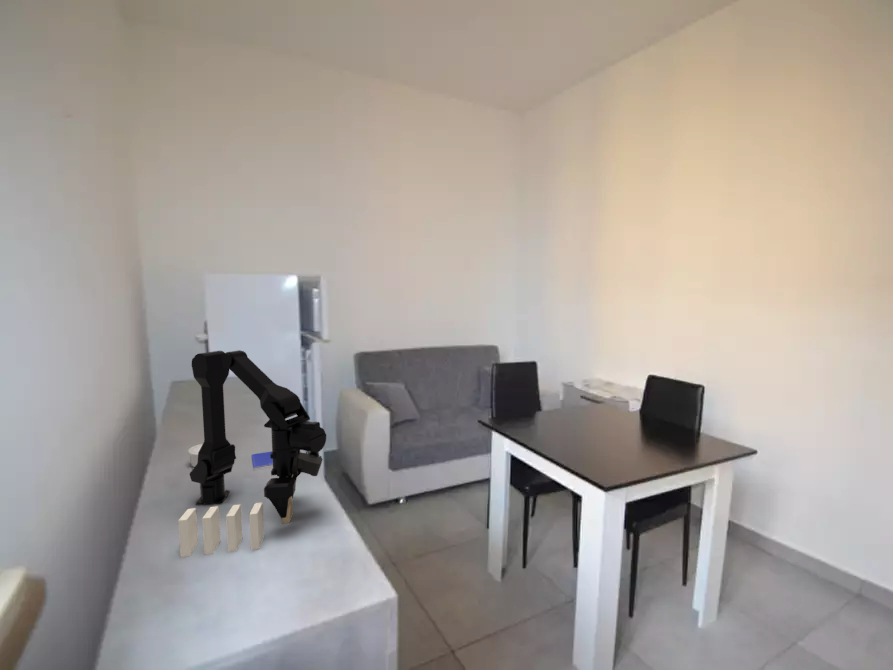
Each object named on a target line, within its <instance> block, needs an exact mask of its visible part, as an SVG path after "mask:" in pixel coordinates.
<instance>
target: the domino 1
mask: <svg viewBox="0 0 893 670" xmlns="http://www.w3.org/2000/svg"><path fill="white" fill-rule="evenodd" d="M197 520H198V519H197V508H194V507H193V508H187V509H186V511H185V512H184V513H183V514H182V516H180V518H179V519H178V520H177V522H178V524H177V525H178V536H179V550H180V551H179V552H180V558H184V557H185V558H186V557H190V556H191V554H192V553H193V551H194V549H195V548H196V547H197V546H198V544H199V535H198V521H197Z"/></svg>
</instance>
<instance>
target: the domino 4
mask: <svg viewBox="0 0 893 670" xmlns="http://www.w3.org/2000/svg"><path fill="white" fill-rule="evenodd" d="M263 504H264V503H263V502H256V503H254V504H253V506H252V508H251V510H250V513H249V515H248V516H249V517H248V518H249V533H250V534H249V535H250V550H251V551H253V550H254V551H255V550H259V549H260V547H261V545H262V543H263V540H264V538H265V523H264V505H263Z"/></svg>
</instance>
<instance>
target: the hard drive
mask: <svg viewBox="0 0 893 670" xmlns="http://www.w3.org/2000/svg"><path fill="white" fill-rule="evenodd" d="M271 453H272V450H271V451H265V452H260V453H252V454H251V464H252V469H253V471H257V470H256V469H260V470H263V469H262V468H266V469H270V468H269V467H272V468H273V459H271V458H270V454H271Z"/></svg>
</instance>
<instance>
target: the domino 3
mask: <svg viewBox="0 0 893 670" xmlns="http://www.w3.org/2000/svg"><path fill="white" fill-rule="evenodd" d="M242 517H243V516H242V504H233V505H232V507H230V510H229V511H228V513H227V514H226V516H225V521H226V536H227V537H226V539H227V540H226V541H227V553H235V552H237V550H238V549H239V546H240V545H241V542H242V541H243V522H242V520H243V518H242Z"/></svg>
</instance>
